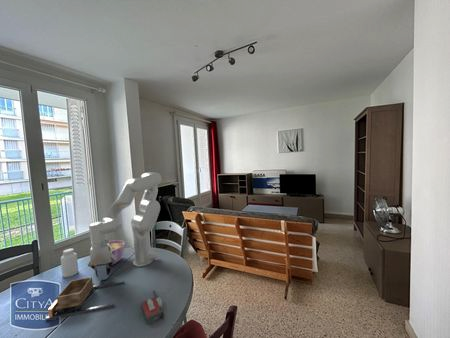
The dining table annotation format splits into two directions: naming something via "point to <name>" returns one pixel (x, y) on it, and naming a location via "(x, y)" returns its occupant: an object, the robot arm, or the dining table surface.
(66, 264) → the pill bottle
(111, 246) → the bowl of food
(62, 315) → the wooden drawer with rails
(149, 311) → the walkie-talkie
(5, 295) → the dining table surface
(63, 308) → the small wooden crate
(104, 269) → the block
